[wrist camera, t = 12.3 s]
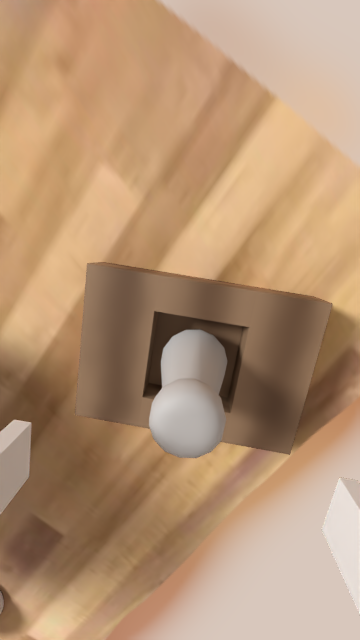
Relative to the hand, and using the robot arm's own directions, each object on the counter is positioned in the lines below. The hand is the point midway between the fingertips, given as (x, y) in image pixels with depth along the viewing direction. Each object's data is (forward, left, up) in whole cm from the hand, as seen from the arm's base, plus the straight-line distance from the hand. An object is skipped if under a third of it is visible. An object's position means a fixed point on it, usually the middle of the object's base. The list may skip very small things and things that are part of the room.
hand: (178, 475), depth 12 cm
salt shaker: (0, 0, -16) cm, 16 cm away
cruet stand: (0, 0, -17) cm, 17 cm away
